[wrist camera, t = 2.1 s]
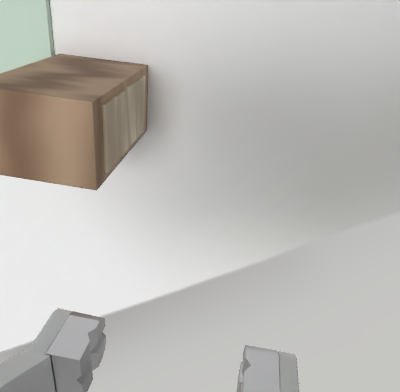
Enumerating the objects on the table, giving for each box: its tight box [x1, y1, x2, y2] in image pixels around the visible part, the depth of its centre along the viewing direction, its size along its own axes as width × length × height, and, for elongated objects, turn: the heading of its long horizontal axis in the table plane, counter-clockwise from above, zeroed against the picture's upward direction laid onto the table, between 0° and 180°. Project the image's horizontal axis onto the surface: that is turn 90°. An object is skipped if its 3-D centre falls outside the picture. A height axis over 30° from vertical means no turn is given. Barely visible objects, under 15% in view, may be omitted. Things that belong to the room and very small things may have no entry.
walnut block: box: [0, 54, 148, 190], centre depth 29 cm, size 8×6×12 cm
